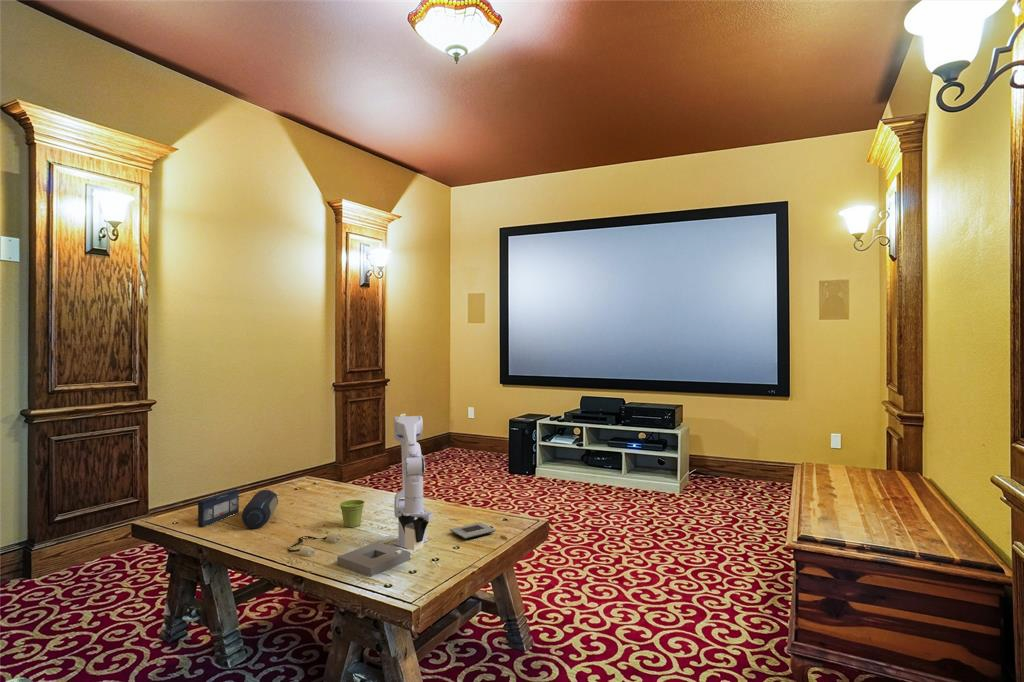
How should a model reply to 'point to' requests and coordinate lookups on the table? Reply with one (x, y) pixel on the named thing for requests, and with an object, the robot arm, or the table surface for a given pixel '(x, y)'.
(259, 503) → the portable speaker
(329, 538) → the cable
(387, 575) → the table surface
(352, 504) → the plant pot
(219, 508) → the vhs cassette tape
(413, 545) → the plug
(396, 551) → the socket block
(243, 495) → the table surface
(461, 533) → the electrical outlet
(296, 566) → the table surface
